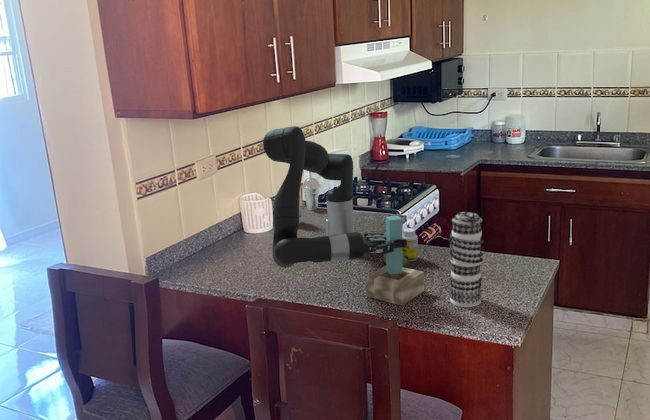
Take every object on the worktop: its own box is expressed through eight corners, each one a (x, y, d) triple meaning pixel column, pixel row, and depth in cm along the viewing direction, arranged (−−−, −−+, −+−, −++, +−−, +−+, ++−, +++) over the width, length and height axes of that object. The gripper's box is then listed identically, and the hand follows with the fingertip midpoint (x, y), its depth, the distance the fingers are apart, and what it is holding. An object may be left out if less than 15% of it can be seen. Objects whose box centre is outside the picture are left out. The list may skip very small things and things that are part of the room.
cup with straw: (325, 206, 274) (322, 162, 269) (316, 212, 266) (314, 166, 261) (307, 205, 277) (305, 161, 272) (298, 210, 269) (296, 165, 264)
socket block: (366, 296, 177) (365, 276, 175) (388, 282, 186) (388, 264, 184) (402, 305, 170) (402, 285, 168) (423, 291, 179) (423, 271, 177)
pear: (394, 244, 202) (414, 257, 195) (392, 259, 205) (412, 272, 197) (380, 248, 200) (400, 261, 192) (379, 262, 202) (398, 276, 194)
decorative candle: (443, 296, 174) (443, 211, 168) (473, 292, 176) (474, 208, 169) (456, 309, 166) (457, 220, 159) (488, 305, 168) (490, 216, 161)
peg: (390, 274, 174) (389, 220, 169) (386, 270, 177) (385, 216, 173) (402, 273, 174) (402, 218, 170) (398, 268, 178) (397, 215, 174)
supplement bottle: (398, 257, 207) (397, 228, 204) (413, 255, 208) (413, 226, 205) (405, 263, 201) (404, 233, 199) (420, 260, 203) (420, 231, 200)
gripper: (350, 241, 163) (412, 235, 166) (338, 226, 176) (395, 221, 180) (351, 268, 165) (412, 261, 168) (339, 251, 178) (396, 245, 182)
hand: (403, 240), depth 174 cm, fingers closed on peg, 3 cm apart
